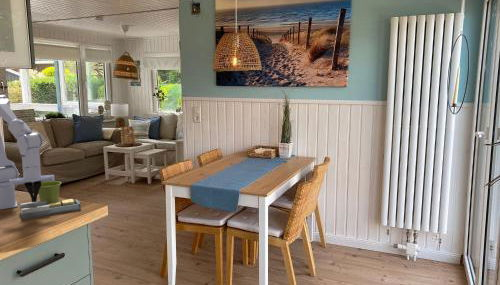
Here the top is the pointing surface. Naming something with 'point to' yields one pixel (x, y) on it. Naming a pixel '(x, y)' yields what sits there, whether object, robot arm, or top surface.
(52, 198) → the plant pot
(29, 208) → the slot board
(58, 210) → the tray
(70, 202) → the brass chip
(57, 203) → the brass chip
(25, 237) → the top surface
